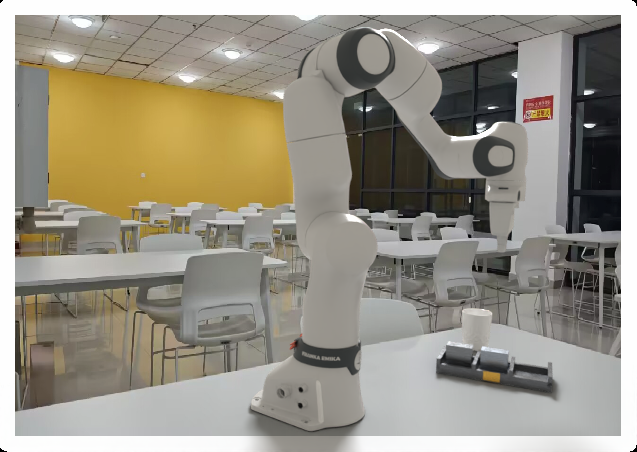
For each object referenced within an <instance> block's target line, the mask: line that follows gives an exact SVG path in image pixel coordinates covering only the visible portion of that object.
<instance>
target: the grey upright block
mask: <svg viewBox="0 0 637 452" xmlns="http://www.w3.org/2000/svg"><path fill="white" fill-rule="evenodd" d="M480 352H481V358H480V369H481V370H487V371H493V372H498V373H504V374H507V372H508V361H509V355H510V354H509V353H510V350H509V349H502V348H496V347H495V348H494V347H489V346H488V347H483V346H482V349H481V351H480Z"/></svg>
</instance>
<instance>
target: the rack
mask: <svg viewBox="0 0 637 452" xmlns="http://www.w3.org/2000/svg"><path fill="white" fill-rule="evenodd" d="M473 347H474V345H470V344H463V343H462V342H457V341H456V342H454V341H448V340H447V342H446V345H445V346H443V347H442V349H441V350H440V352H439V354H438V356H437V358H436V363H435V365H436V366H435V373H436V374H441V375H442V374H443V375H448V376H453V377H459V378H465V379H470V380H475V379H476V381H482V382H487V383H493V384H499V385H504V386H510V387H517V388H522V389H527V390H528V389H529V390H534V391H539V392H545V393H552V391H553V378H554V377H553V375H554V374H553V362H551V361H548V362H547V366H543V365H542V366H541V365H535V364H529V363H523V362H516V356H511V357H510V358H511V359H510V360H508V372H507V374H504V373H498V372H493V371H487V370H481V369H480V358H481V351H476V354H475V355H474V351H473Z"/></svg>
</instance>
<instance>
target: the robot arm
mask: <svg viewBox="0 0 637 452" xmlns="http://www.w3.org/2000/svg"><path fill="white" fill-rule="evenodd" d="M442 81H443V80H442V79H441V76H440V74H439V73H438V71H437V69H435V67H434V66H433V65H432V64H431V63H430V61H429V60H428V59H427V58H426V56H424V55H423V54H422V53H421V52H420V50H418V49H417V48H416V47H415V46H414V45H413V44H412V43H411V42H410V41H408V40H407V39H405V38H404V37H403V36H401V35H400V34H399V33H398V32H396V31H394V30H392V29H388V28H384V29H380V30H377V29H375V28H372V27H367V26H366V27H363V26H362V27H356V28H353V29H349V30H348V31H346V32H344V33H342V34H339V35H336V36H333V37H330V38H328V39H327V40H324V41H323V42H321V43H320V44H319V45H317V46H316V47H314V48H312V49H310V50H309V51H308V52H307V53H305V54H304V56H303V58H302V60H300V63H299V67H298V70H297V78H296V79H295V80H293V81H292V82H290V84H288V85H287V86H286V88H285V90H284V92H283V99H282V101H283V102H282V103H283V104H282V105H283V106H282V108H283V110H282V111H283V113H282V114H283V128H284V136H285V142H286V149H287V153H288V159H289V165H290V170H291V171H290V172H291V177H292V184H293V191H294V192H293V193H294V214H295V227H296V236H295V237H296V241H297V245H298V247H299V249H300V251H301V253H302V255H303V256H305V257H306V258H307V259H308V260H309V261H310V271H309V278H308V282H307V288H306V291H305V294H304V296H303V299H302V325H301V328H302V329H301V334H300V335H299V337H296V338H295V339H293V342H291V343H289V346H290V347H289V350H290V351H292V350H293V354H292V355H290V356H289V357H288V358H286V359H284V360H283V361H282V362H280V363H279V364H277V365H276V366H274V367H273V368H272V369H271V370H270V371H269V372H268V373H267V374H266V376H265V379H264V383H263V387H262V388H261V389H260V390H259V391H258V392H257V393H256V394H255V395H254V396H253V397H252V398H251V401H250V409H251V410H252V411H254V412H256V413H260V414H263V415H265V416H268V417H270V418H272V419H275V420H279V421H281V422H284V423H287V424H289V425H292V426H295V427H297V428H300V429H302V430H305V431H309V432H313V431H318V430H323V429H325V428H335V427H337V428H338V427H345V426H349V425H351V424H354V423H357V422H359V421H360V420H361V419H363V417H364V416H365V414H366V409H365V405H364V401H363V395H362V389H361V380H360V370H361V365H362V341H361V339H360V325H361V324H360V322H361V321H360V320H361V306H362V305H361V303H362V298H363V292H364V288H365V284H366V280H367V275H368V272H369V268H370V267H371V266H372V264H374V262H375V260H376V257H377V254H378V249H379V245H378V239H377V236H376V234H375V232H374V231H373V230H372V228H371V227H370V226H369V225H368V224H367V223H366V222H365V221H364V220H363V219H361V218H360V217H358V216H356V215H353V214H350V213H351V212H350V202H349V201H350V185H351V181H352V178H353V176H352V175H353V171H352V165H351V160H350V159H351V158H350V153H349V148H348V147H349V146H348V142H347V141H348V140H347V135H346V134H347V133H346V129H345V123H344V120H343V115H342V112H343V111H342V109H343V108H342V107H343V103H344V100H345V98H349V97H353V96H356V95H358V94H361V93H362V92H364V91H367V90H371V89H376V90H377V92H378V93H380V95H381V96H382V97H383V98H384V99H385V100H386V101H387V102H388V103H389V104H390V105H391V107H392V108H393V109H394V110H395V114H396V116H397V118H398V120H399V122H400V123H401V124H402V126H403V127H404V129H405V130H406V131H407V132H408V133H409V135H410V136H411V137H412V138H413V140H414V141H415V142H416V143H417V145H418V146H419V147H420V148H421V149H422V150H423V152H424V153H425V155H426V156H427V159H428V160H429V163H430V165H431V168H432V169H433V171H434V172H435V174H436V176H438V177H440V178H442V179H444V180H457V179H486V180H485V193H484V200H486V201H487V202H489V228H490V233H491V235H492V236H496V241H497V242H496V243H497V244H496V245H497V248H496V250H497V251H496V252H497V253H505V252H506V251H507V243H508V239H509V238H508V237H509V235H510V233H511V232H512V231H513V230H514V227H515V211H516V209H519V208H520V207H519V206H520V202H526V190H527V177H526V167H527V164H528V158H529V157H528V155H529V154H528V153H529V141H528V140H529V139H528V132H527V130H526V127H524V126H523V125H522V124H520V123H516V122H513V121H498V122H495V123H493V124H492V126H491V127H490V128H489V129H487V130H486V131H483V132H481V133H478V134H476V135H469V136H453V135H449V134H447V133H445V132H444V131H443V129H442V128H441V126H439V124H438V123H437V121H436V120H435V119H434V117H433V116H432V115H431V114H430V113H431V112H432V111H433V110H434V108H435V107H436V105H437V104H438V102H439V100H440V97H441V95H442V91H443V90H442V89H443V83H442Z"/></svg>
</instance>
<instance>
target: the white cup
mask: <svg viewBox="0 0 637 452" xmlns="http://www.w3.org/2000/svg"><path fill="white" fill-rule="evenodd" d="M492 320H493V312H492V311H490V310H487V309H484V308H483V309H482V308H473V307H470V308H464V309H462V311H461V335H462V341H461V343H463V344H470V345H474V347H473V352H477V351H479V352H481V349H482V346H483V347H489V342H490V337H491V329H492V328H491V327H492Z"/></svg>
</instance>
